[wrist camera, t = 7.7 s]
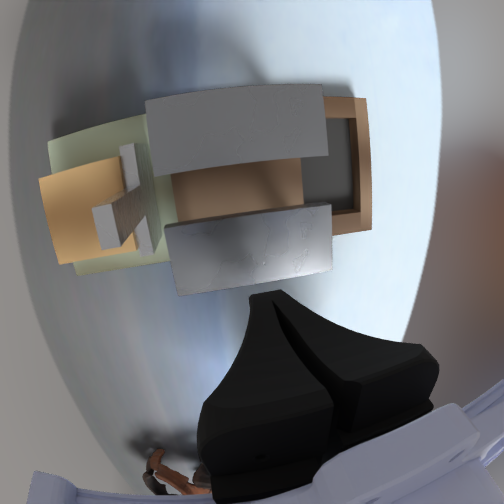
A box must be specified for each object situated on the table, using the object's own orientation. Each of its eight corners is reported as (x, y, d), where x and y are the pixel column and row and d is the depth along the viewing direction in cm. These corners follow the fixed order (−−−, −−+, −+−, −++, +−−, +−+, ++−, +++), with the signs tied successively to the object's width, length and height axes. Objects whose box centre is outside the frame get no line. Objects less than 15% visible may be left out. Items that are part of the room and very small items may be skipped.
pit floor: (351, 207, 22) (353, 208, 22) (298, 214, 22) (299, 215, 21) (346, 118, 20) (348, 118, 19) (290, 119, 19) (291, 119, 19)
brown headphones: (197, 477, 34) (171, 512, 26) (157, 435, 35) (123, 468, 27) (257, 468, 30) (233, 514, 22) (212, 419, 30) (176, 463, 23)
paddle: (162, 234, 19) (135, 300, 11) (151, 236, 19) (117, 302, 11) (147, 143, 17) (101, 142, 8) (135, 146, 16) (81, 147, 8)
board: (362, 224, 23) (371, 229, 21) (83, 268, 20) (77, 275, 19) (356, 100, 19) (365, 98, 18) (56, 141, 17) (47, 141, 15)
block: (150, 228, 19) (136, 250, 15) (85, 240, 18) (59, 264, 14) (137, 153, 17) (118, 156, 13) (70, 170, 16) (38, 178, 12)
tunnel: (298, 236, 21) (332, 270, 15) (184, 254, 20) (178, 296, 14) (287, 100, 17) (321, 84, 12) (162, 114, 16) (144, 100, 11)
